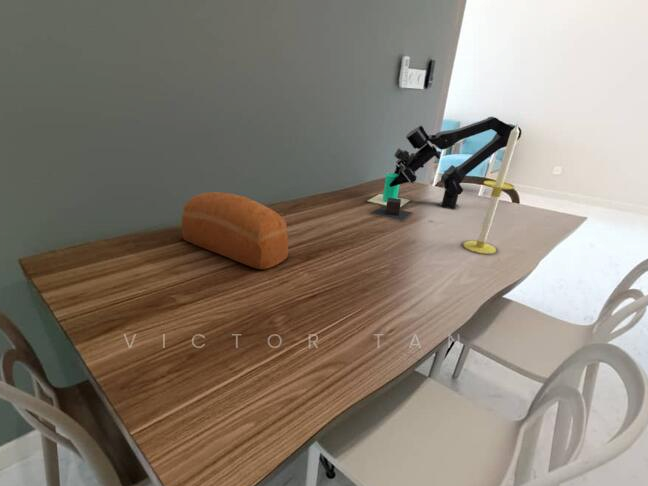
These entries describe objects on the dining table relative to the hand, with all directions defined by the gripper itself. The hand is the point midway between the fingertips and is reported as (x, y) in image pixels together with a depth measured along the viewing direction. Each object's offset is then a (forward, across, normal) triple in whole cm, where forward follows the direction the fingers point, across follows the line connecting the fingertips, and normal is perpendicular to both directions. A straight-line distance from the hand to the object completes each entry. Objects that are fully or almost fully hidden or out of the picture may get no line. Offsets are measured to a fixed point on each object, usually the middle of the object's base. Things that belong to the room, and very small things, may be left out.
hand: (388, 184), depth 162 cm
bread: (+42, +60, -32) cm, 80 cm away
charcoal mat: (+5, +16, +5) cm, 18 cm away
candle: (+4, 0, +6) cm, 7 cm away
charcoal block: (+5, +16, +5) cm, 18 cm away
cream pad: (+4, 0, +6) cm, 7 cm away
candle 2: (-12, +45, +23) cm, 52 cm away
